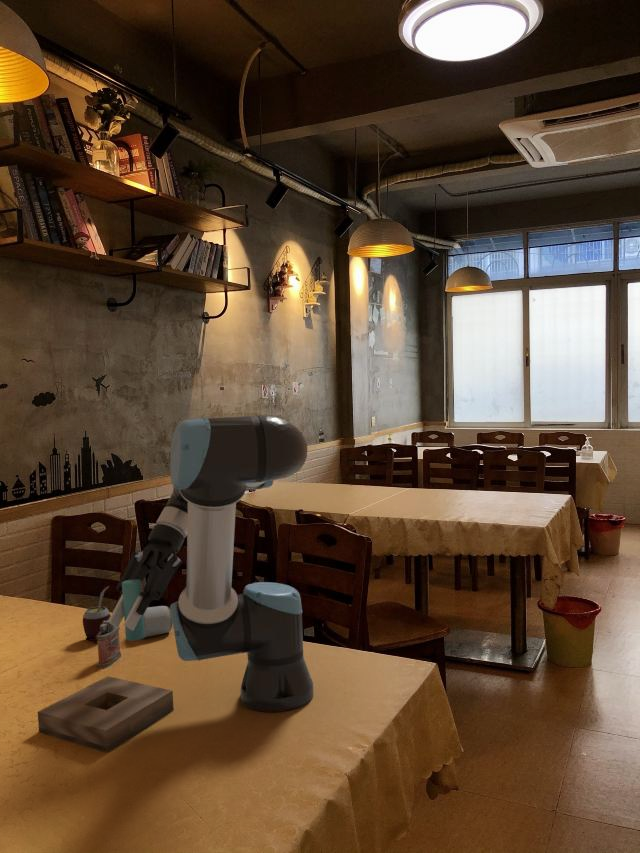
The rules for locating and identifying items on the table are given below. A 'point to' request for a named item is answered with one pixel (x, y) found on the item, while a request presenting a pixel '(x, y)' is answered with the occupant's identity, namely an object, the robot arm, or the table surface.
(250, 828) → the table surface
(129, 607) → the pin
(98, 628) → the mate gourd
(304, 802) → the table surface
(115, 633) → the lighter
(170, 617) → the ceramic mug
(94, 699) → the hole board
